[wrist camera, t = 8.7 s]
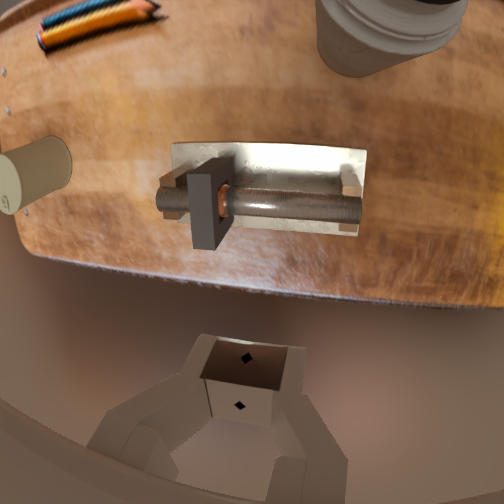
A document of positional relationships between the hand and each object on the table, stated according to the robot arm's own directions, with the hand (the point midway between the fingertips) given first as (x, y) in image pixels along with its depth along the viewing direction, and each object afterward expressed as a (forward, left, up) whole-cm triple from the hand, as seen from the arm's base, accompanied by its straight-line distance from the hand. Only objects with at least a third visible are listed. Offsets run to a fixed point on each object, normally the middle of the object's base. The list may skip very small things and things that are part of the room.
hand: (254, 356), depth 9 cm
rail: (+5, +5, -32) cm, 33 cm away
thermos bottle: (-5, -13, -32) cm, 35 cm away
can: (+40, +1, -33) cm, 51 cm away
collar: (+10, +5, -30) cm, 32 cm away
